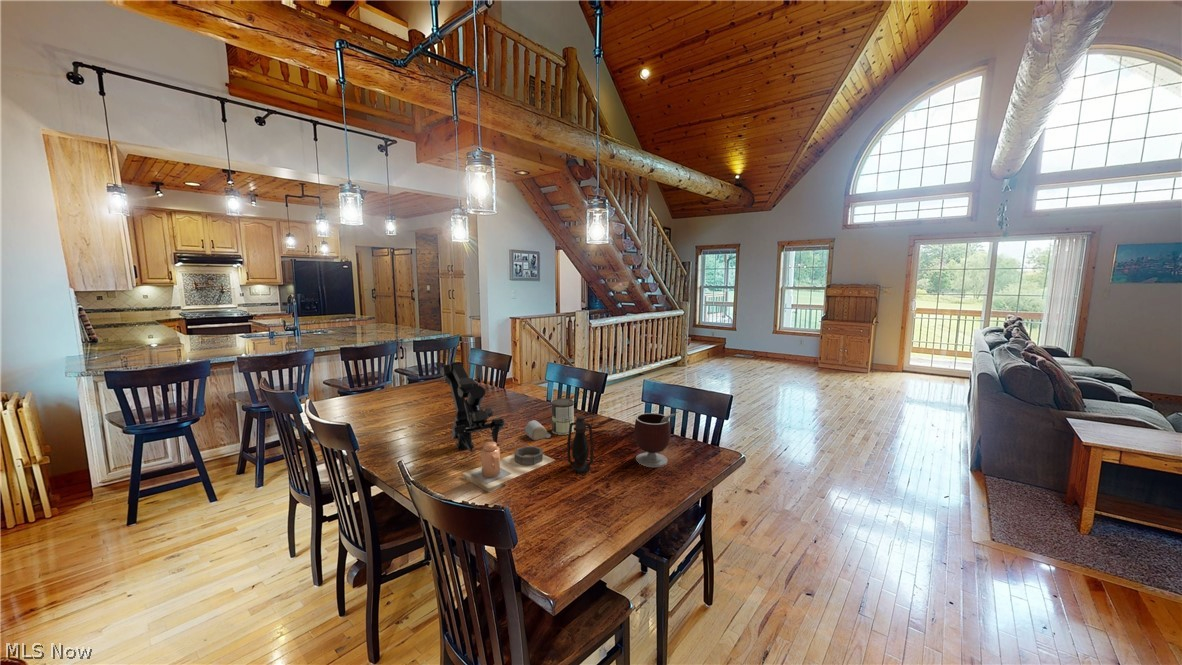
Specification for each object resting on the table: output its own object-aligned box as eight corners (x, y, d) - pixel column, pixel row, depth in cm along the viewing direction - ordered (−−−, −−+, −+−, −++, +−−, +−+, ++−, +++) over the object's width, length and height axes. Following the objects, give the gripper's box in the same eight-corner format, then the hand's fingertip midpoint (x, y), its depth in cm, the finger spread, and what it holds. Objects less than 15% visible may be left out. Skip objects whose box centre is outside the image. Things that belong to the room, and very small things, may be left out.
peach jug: (479, 472, 152) (478, 442, 150) (496, 467, 155) (495, 439, 153) (488, 483, 144) (487, 452, 142) (506, 478, 147) (505, 448, 146)
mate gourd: (629, 465, 162) (630, 414, 159) (638, 451, 175) (639, 404, 172) (670, 471, 157) (672, 419, 154) (676, 456, 170) (678, 408, 167)
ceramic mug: (532, 444, 181) (532, 427, 180) (524, 438, 188) (524, 421, 187) (554, 439, 187) (554, 423, 186) (545, 433, 194) (545, 417, 193)
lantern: (575, 476, 152) (574, 395, 148) (565, 467, 160) (565, 390, 155) (594, 471, 156) (595, 392, 152) (584, 463, 163) (585, 387, 159)
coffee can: (547, 431, 196) (546, 402, 194) (561, 425, 204) (561, 397, 202) (564, 436, 190) (564, 406, 188) (578, 430, 198) (578, 400, 196)
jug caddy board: (529, 451, 173) (528, 441, 173) (555, 463, 163) (555, 452, 162) (463, 477, 152) (462, 465, 151) (488, 492, 141) (488, 480, 140)
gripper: (452, 405, 153) (462, 445, 145) (502, 397, 163) (513, 434, 155) (448, 419, 161) (457, 458, 153) (495, 411, 170) (506, 447, 163)
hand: (484, 449), depth 156 cm, fingers open, 9 cm apart
